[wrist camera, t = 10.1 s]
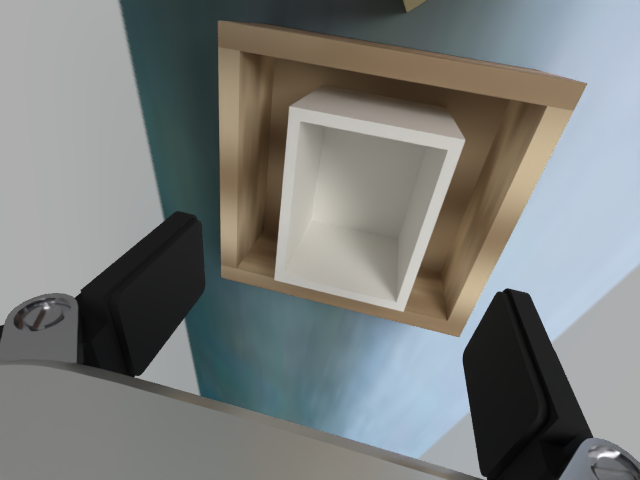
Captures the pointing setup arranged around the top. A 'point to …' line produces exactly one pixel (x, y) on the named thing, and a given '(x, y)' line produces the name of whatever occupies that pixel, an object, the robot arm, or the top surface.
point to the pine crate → (398, 82)
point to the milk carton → (412, 4)
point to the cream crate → (362, 192)
